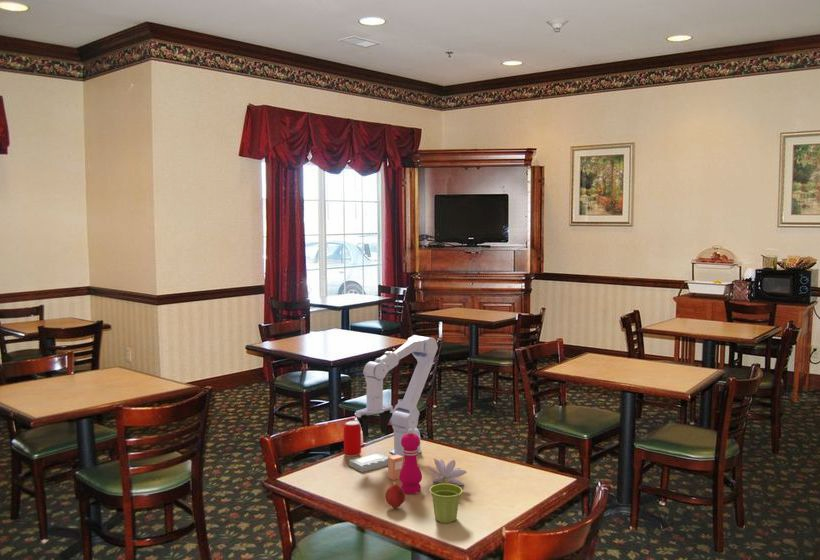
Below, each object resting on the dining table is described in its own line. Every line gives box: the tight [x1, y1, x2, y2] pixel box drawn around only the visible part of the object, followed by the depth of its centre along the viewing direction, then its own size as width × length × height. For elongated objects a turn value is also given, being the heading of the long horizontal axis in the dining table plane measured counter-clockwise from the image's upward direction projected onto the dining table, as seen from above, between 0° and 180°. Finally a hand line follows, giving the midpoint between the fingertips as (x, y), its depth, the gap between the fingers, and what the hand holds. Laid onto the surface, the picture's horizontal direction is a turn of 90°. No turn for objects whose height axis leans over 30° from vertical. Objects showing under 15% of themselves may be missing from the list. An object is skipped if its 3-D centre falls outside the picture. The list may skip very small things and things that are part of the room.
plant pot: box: [429, 483, 463, 524], centre depth 198 cm, size 9×9×9 cm
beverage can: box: [343, 420, 362, 458], centre depth 254 cm, size 6×6×12 cm
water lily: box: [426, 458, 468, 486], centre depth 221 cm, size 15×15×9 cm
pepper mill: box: [399, 429, 423, 495], centre depth 219 cm, size 7×7×20 cm
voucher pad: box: [349, 452, 388, 473], centre depth 243 cm, size 12×8×2 cm, turn 128°
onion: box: [384, 482, 406, 510], centre depth 206 cm, size 6×6×8 cm
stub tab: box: [387, 454, 404, 481], centre depth 231 cm, size 4×3×7 cm
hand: (374, 434), depth 245 cm, fingers open, 7 cm apart
